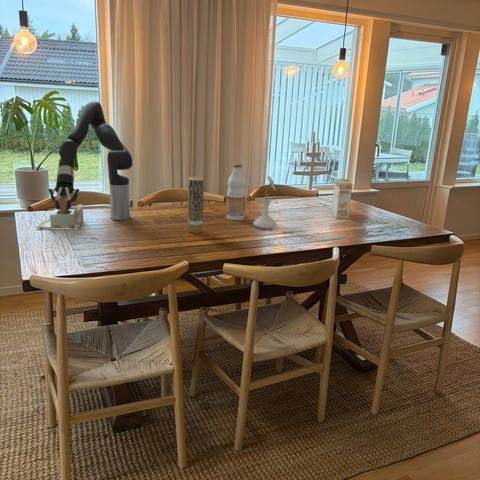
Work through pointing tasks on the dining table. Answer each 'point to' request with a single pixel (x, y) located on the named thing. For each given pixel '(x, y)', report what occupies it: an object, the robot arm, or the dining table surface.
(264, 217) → the flower in vase
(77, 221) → the backstop board
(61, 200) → the dowel
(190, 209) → the paper tube
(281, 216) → the dining table surface
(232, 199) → the fruit juice
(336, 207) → the coffeecake box
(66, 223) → the socket block
